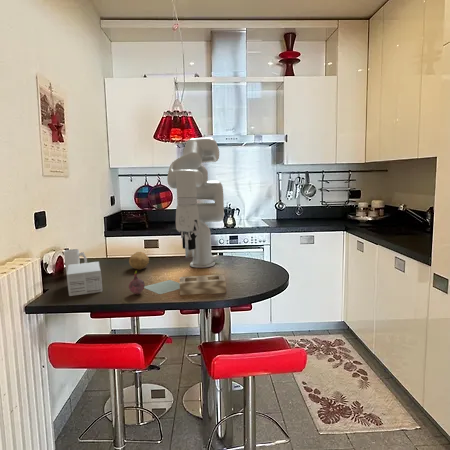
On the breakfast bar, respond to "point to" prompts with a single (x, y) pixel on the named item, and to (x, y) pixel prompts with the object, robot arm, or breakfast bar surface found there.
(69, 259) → the mug
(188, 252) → the pin
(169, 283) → the mat
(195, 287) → the hole block
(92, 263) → the supplement box
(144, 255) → the potato
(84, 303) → the breakfast bar surface
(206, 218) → the robot arm
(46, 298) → the breakfast bar surface
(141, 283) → the vegetable
